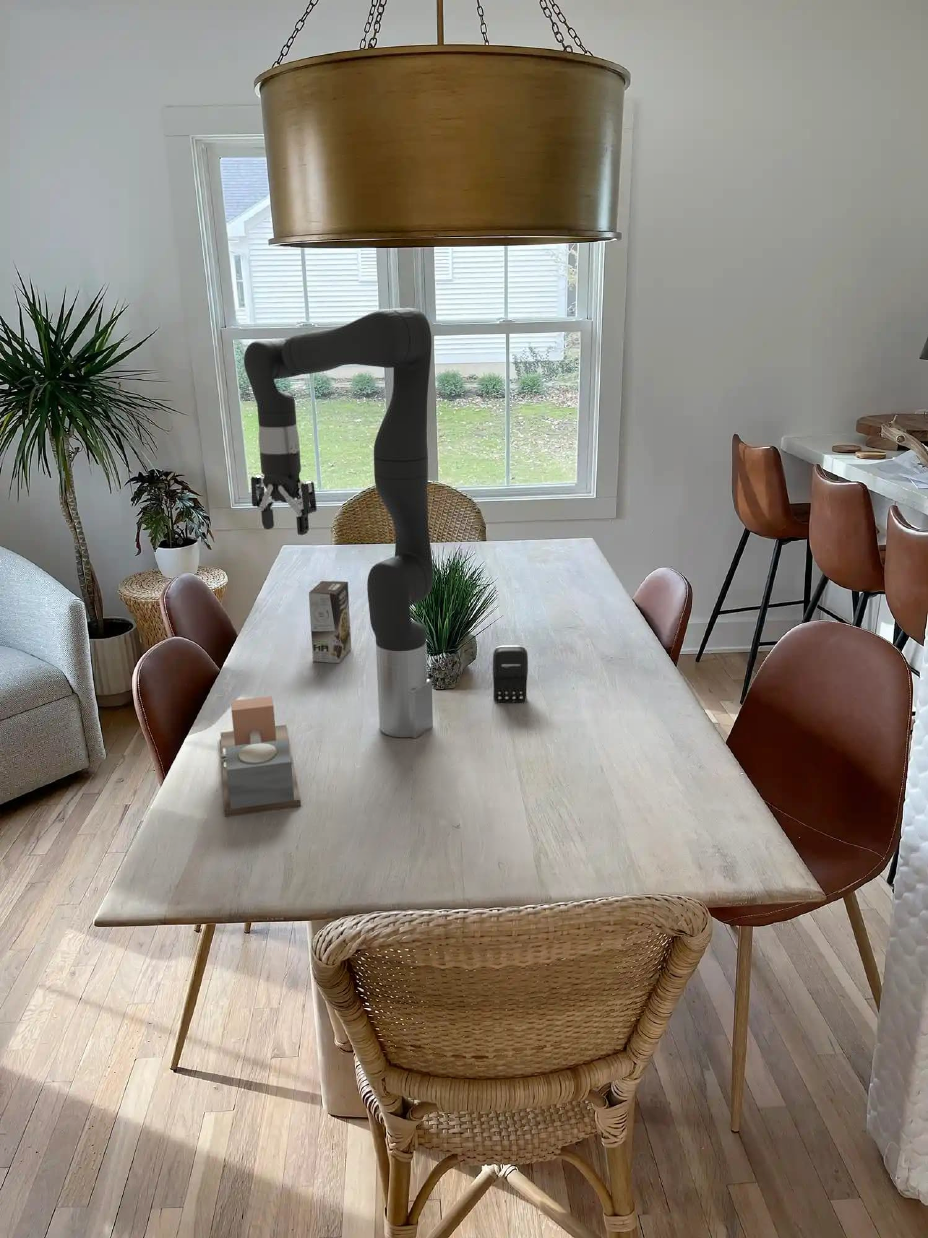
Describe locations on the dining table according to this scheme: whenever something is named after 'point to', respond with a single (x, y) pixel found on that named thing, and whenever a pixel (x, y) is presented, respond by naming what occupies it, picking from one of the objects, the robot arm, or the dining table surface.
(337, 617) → the coffee box
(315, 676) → the dining table surface
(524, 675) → the black battery charger
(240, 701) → the block on disc stand
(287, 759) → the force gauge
